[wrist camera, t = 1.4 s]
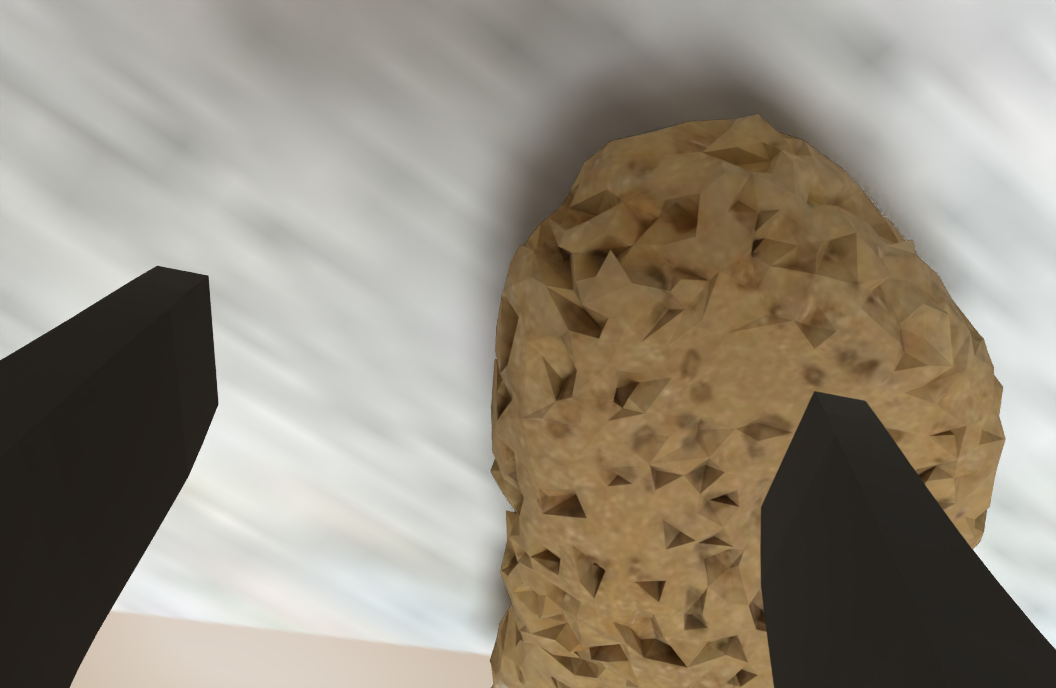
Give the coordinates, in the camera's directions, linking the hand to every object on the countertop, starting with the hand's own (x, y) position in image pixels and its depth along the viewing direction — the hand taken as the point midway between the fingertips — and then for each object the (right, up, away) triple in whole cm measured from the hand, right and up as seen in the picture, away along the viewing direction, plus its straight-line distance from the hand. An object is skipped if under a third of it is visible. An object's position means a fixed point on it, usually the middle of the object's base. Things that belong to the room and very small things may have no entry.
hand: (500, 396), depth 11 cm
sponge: (+5, -2, +14) cm, 15 cm away
